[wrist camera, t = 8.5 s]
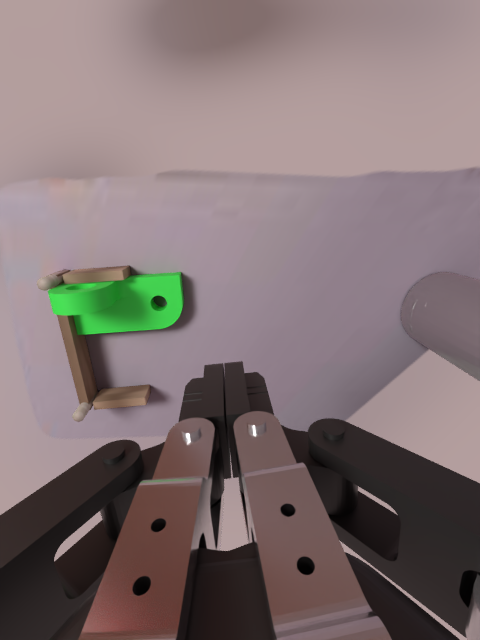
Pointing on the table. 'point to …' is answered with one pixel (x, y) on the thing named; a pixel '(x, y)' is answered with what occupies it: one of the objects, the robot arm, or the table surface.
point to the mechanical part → (120, 303)
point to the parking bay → (79, 349)
